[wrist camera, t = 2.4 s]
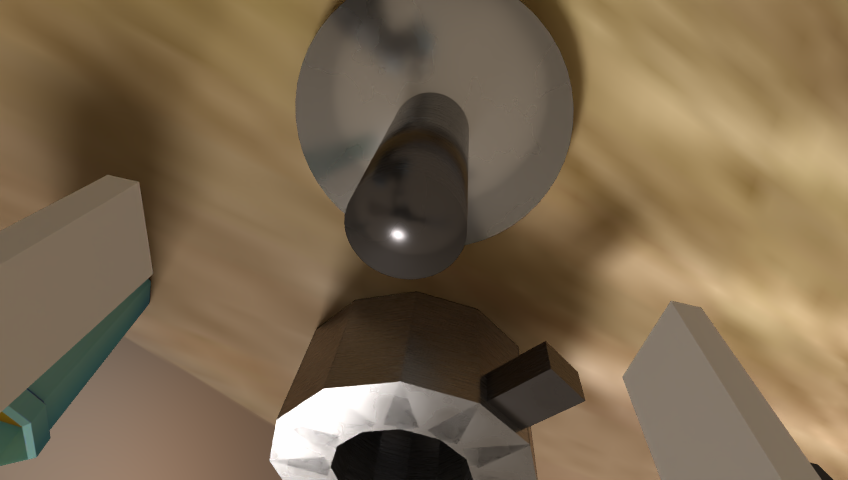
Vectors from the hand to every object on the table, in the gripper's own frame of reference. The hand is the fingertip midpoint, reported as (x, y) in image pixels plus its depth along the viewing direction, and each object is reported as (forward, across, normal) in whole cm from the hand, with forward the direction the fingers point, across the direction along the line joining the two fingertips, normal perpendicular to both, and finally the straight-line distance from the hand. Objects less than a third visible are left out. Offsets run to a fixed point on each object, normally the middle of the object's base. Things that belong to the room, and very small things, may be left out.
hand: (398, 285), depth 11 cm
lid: (+13, 0, 0) cm, 13 cm away
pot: (+13, +2, -18) cm, 22 cm away
